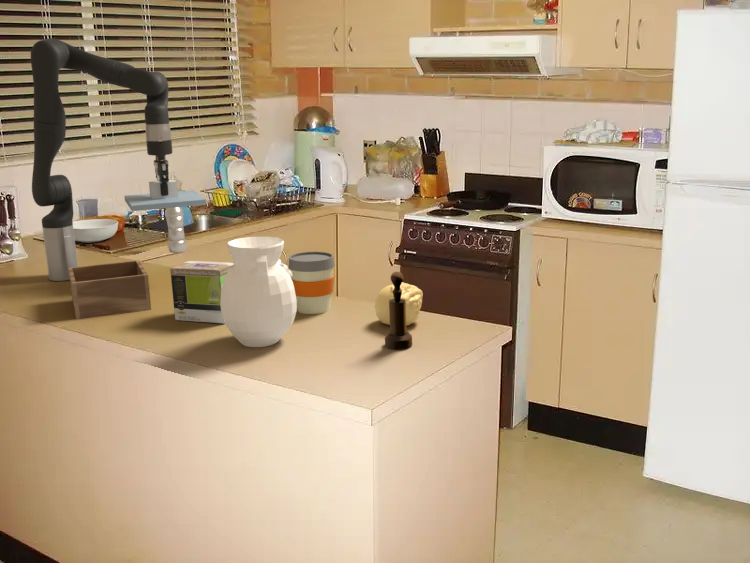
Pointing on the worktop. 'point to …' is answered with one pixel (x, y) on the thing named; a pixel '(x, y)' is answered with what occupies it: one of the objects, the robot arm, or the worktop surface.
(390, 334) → the dark brown tall piece
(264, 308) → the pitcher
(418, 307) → the sculpture
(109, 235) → the serving bowl
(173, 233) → the plastic bottle
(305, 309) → the reusable coffee cup
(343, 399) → the worktop surface
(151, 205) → the lid
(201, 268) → the tea box
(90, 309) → the box
